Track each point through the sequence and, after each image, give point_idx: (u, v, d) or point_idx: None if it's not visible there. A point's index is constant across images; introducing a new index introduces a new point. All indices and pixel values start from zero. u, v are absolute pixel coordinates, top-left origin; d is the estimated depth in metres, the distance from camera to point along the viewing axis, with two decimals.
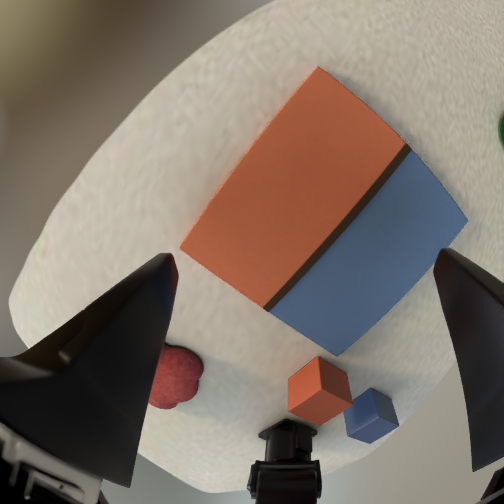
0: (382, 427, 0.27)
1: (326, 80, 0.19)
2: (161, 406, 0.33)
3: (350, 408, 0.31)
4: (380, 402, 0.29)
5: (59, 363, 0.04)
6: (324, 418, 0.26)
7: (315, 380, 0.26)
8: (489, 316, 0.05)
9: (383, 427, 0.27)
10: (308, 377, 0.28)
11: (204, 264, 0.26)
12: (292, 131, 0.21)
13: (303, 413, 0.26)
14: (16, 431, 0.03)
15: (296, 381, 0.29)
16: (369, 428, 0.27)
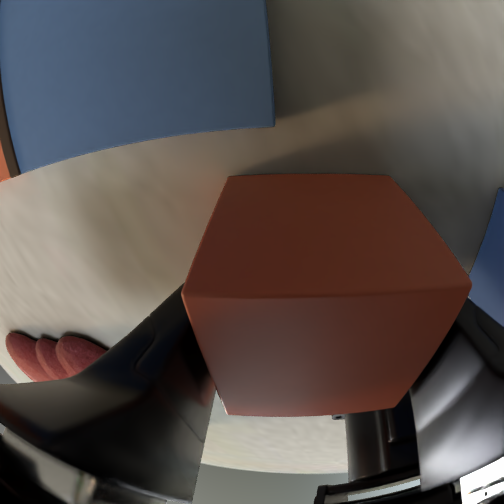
0: None
1: None
2: None
3: (482, 281, 0.09)
4: None
5: (139, 383, 0.04)
6: (387, 390, 0.06)
7: None
8: None
9: None
10: None
11: None
12: None
13: (282, 408, 0.06)
14: (100, 476, 0.02)
15: None
16: None
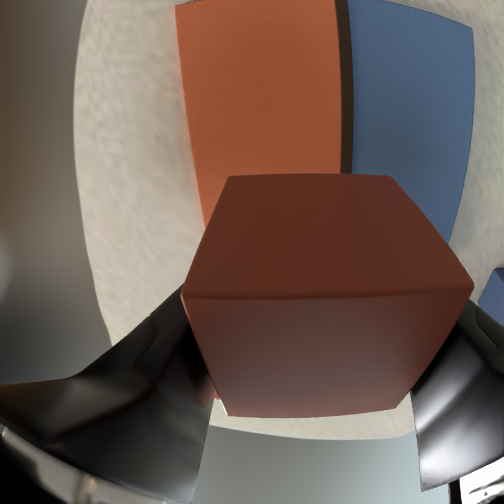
0: None
1: (194, 9, 0.12)
2: None
3: (485, 301, 0.22)
4: None
5: (139, 383, 0.04)
6: (388, 392, 0.06)
7: None
8: None
9: None
10: None
11: None
12: (210, 82, 0.15)
13: (283, 409, 0.06)
14: (100, 475, 0.02)
15: None
16: None
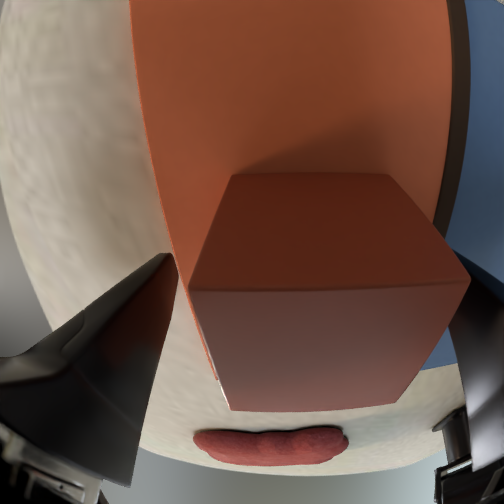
0: None
1: None
2: (321, 462, 0.27)
3: None
4: None
5: (59, 363, 0.04)
6: (388, 386, 0.06)
7: None
8: (489, 316, 0.05)
9: None
10: None
11: None
12: (200, 127, 0.08)
13: (285, 403, 0.07)
14: (16, 431, 0.03)
15: None
16: None
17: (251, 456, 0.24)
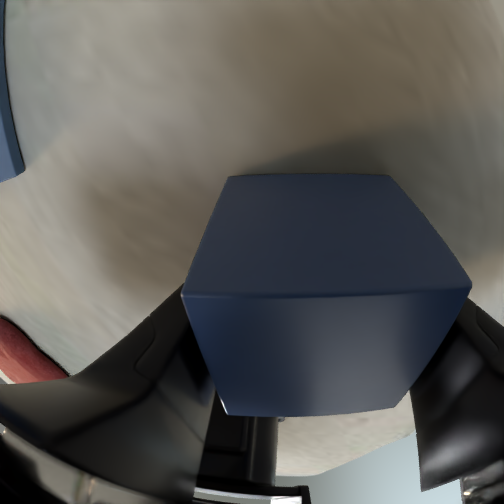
0: (345, 343, 0.05)
1: None
2: None
3: None
4: (272, 205, 0.06)
5: (139, 383, 0.04)
6: None
7: None
8: None
9: (353, 342, 0.05)
10: None
11: None
12: None
13: None
14: (100, 476, 0.02)
15: None
16: (260, 371, 0.05)
17: None
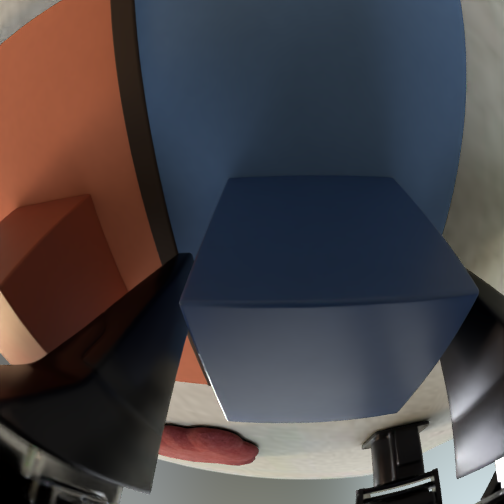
0: (348, 351, 0.04)
1: None
2: (240, 464, 0.27)
3: None
4: (273, 208, 0.06)
5: (83, 370, 0.04)
6: None
7: None
8: (472, 319, 0.05)
9: (357, 350, 0.04)
10: None
11: None
12: None
13: (19, 362, 0.07)
14: (39, 446, 0.02)
15: None
16: (261, 379, 0.05)
17: (162, 447, 0.25)
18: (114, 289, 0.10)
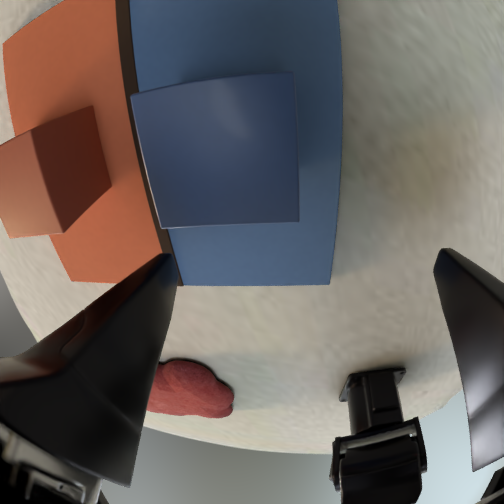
0: (217, 117, 0.08)
1: (12, 43, 0.08)
2: (218, 416, 0.31)
3: None
4: None
5: (59, 363, 0.04)
6: (42, 208, 0.10)
7: None
8: (489, 316, 0.05)
9: (223, 117, 0.07)
10: None
11: (93, 280, 0.19)
12: (25, 109, 0.11)
13: (18, 225, 0.10)
14: (16, 431, 0.03)
15: None
16: (173, 153, 0.08)
17: None
18: (100, 173, 0.13)
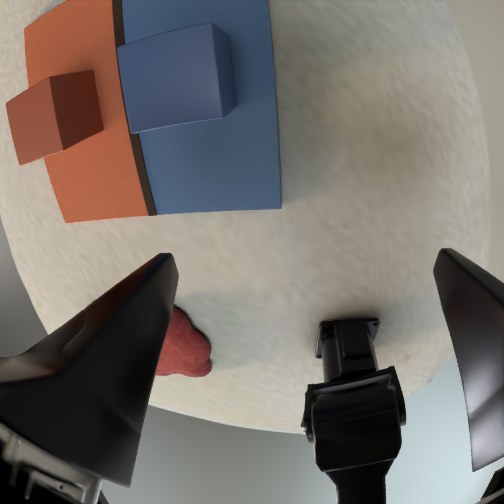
0: (167, 54, 0.10)
1: (32, 27, 0.11)
2: (197, 373, 0.33)
3: None
4: None
5: (59, 363, 0.04)
6: (50, 133, 0.12)
7: None
8: (489, 316, 0.05)
9: (170, 53, 0.10)
10: None
11: (84, 219, 0.22)
12: (40, 76, 0.14)
13: (29, 151, 0.13)
14: (16, 431, 0.03)
15: None
16: (140, 79, 0.11)
17: None
18: (95, 118, 0.16)
